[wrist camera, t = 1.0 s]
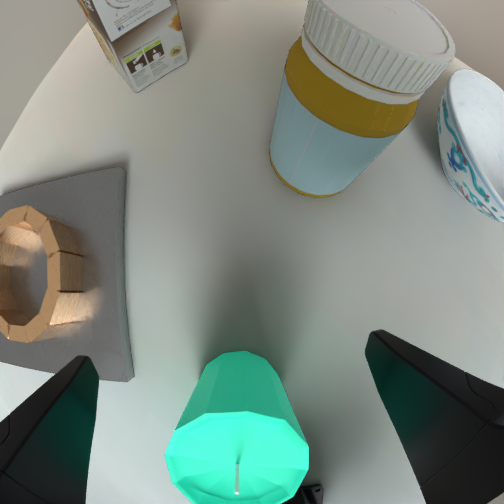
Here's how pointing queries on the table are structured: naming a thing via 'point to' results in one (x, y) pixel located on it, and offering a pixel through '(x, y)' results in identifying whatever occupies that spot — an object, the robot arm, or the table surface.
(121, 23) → the coffee box
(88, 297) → the square plate with hole
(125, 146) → the table surface
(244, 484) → the candle
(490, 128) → the chinaware
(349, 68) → the bottle
